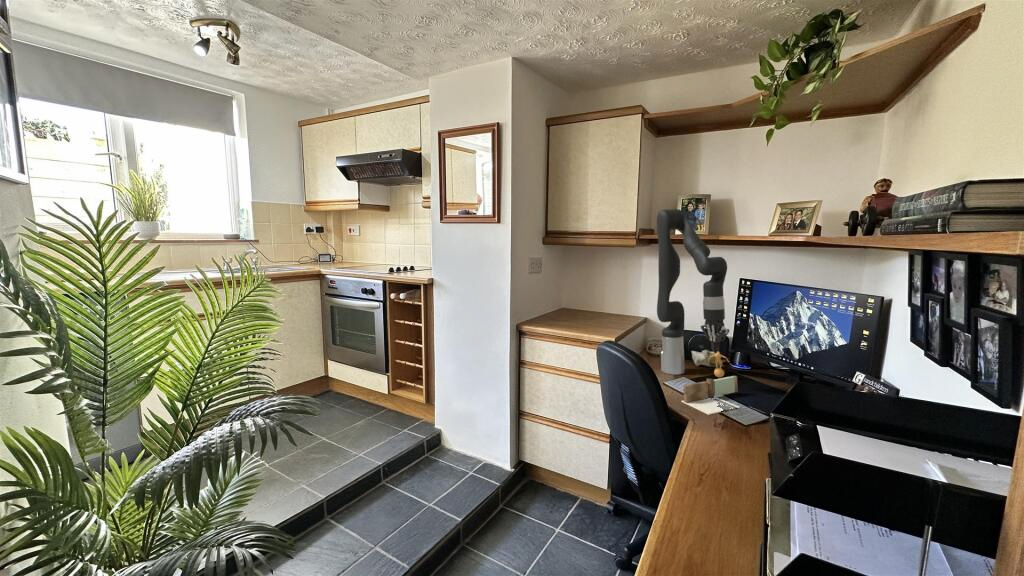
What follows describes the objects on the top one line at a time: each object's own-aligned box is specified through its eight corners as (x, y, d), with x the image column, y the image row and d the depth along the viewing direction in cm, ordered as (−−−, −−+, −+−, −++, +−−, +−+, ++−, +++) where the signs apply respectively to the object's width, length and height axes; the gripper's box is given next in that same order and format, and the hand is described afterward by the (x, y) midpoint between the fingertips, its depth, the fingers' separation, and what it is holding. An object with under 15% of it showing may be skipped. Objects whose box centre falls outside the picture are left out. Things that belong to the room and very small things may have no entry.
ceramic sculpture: (692, 344, 196) (726, 348, 188) (692, 361, 197) (726, 365, 189) (690, 350, 187) (725, 354, 179) (689, 367, 188) (725, 372, 180)
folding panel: (715, 396, 148) (715, 381, 148) (712, 395, 150) (711, 379, 149) (738, 391, 151) (738, 376, 151) (734, 390, 153) (734, 375, 152)
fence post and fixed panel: (687, 404, 144) (686, 385, 144) (683, 402, 147) (682, 383, 146) (715, 398, 148) (714, 379, 147) (710, 396, 150) (710, 378, 150)
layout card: (708, 414, 134) (708, 413, 134) (681, 401, 147) (681, 400, 147) (740, 408, 138) (739, 406, 138) (710, 395, 151) (710, 394, 151)
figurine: (730, 376, 171) (729, 349, 170) (729, 380, 166) (728, 353, 165) (709, 374, 176) (708, 348, 175) (707, 378, 170) (707, 351, 170)
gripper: (735, 308, 149) (736, 352, 151) (708, 305, 162) (710, 346, 163) (719, 310, 147) (720, 355, 149) (693, 306, 160) (695, 348, 161)
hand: (715, 350), depth 156 cm, fingers closed
